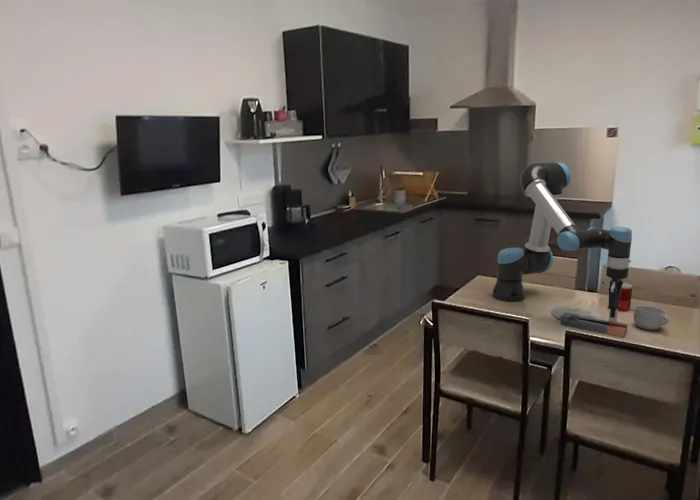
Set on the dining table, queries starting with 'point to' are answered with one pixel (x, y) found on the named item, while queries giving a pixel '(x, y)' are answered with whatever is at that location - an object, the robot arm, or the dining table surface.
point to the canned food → (625, 297)
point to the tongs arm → (600, 321)
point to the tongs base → (592, 326)
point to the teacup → (650, 317)
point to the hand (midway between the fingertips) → (612, 324)
